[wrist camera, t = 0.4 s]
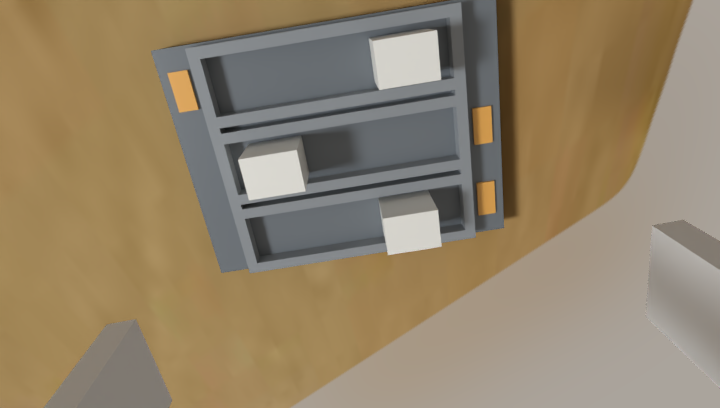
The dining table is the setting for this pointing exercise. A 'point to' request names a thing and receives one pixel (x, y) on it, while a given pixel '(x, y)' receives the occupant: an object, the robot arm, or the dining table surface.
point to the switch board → (339, 132)
